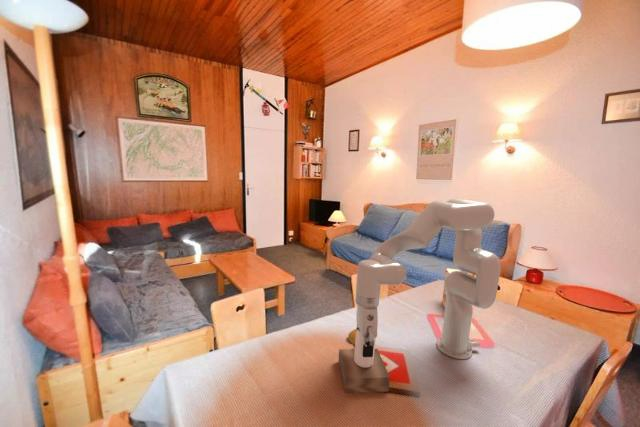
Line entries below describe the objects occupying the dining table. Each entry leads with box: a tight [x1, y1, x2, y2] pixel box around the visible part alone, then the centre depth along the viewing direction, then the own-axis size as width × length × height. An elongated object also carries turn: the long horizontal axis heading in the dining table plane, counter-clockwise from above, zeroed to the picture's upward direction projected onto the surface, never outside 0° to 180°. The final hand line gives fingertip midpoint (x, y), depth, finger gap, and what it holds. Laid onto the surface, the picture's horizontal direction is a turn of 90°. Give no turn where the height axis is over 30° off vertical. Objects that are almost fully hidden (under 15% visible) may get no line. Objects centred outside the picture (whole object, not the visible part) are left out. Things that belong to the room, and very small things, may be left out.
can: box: [354, 328, 377, 368], centre depth 93 cm, size 6×6×12 cm
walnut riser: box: [338, 348, 391, 394], centre depth 94 cm, size 14×14×5 cm
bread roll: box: [347, 328, 357, 346], centre depth 114 cm, size 8×9×4 cm
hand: (363, 346), depth 93 cm, fingers open, 9 cm apart
